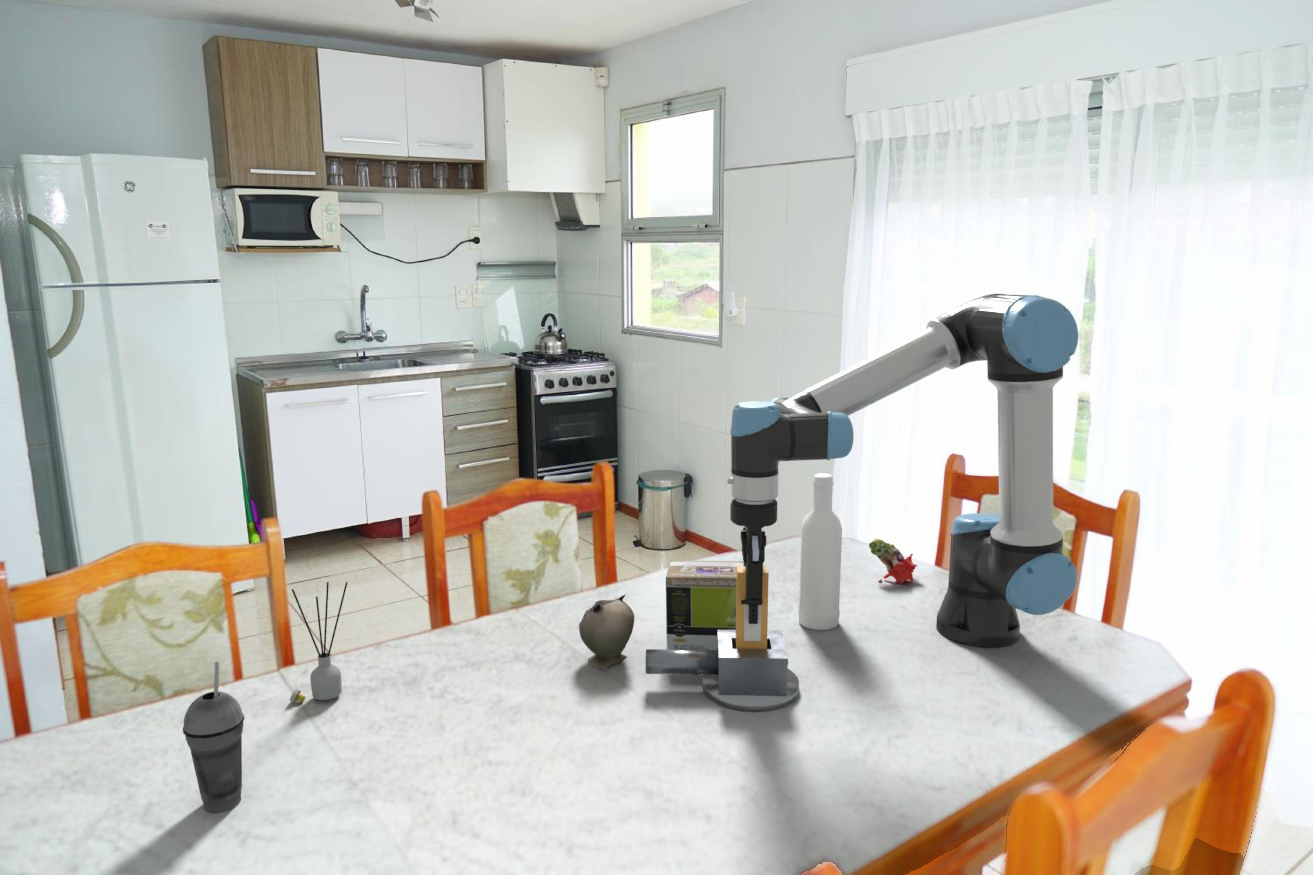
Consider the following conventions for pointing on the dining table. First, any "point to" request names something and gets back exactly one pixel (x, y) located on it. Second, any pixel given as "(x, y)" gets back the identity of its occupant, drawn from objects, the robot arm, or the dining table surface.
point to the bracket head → (735, 672)
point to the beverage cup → (216, 747)
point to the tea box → (700, 602)
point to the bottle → (820, 560)
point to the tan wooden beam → (740, 611)
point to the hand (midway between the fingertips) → (751, 634)
